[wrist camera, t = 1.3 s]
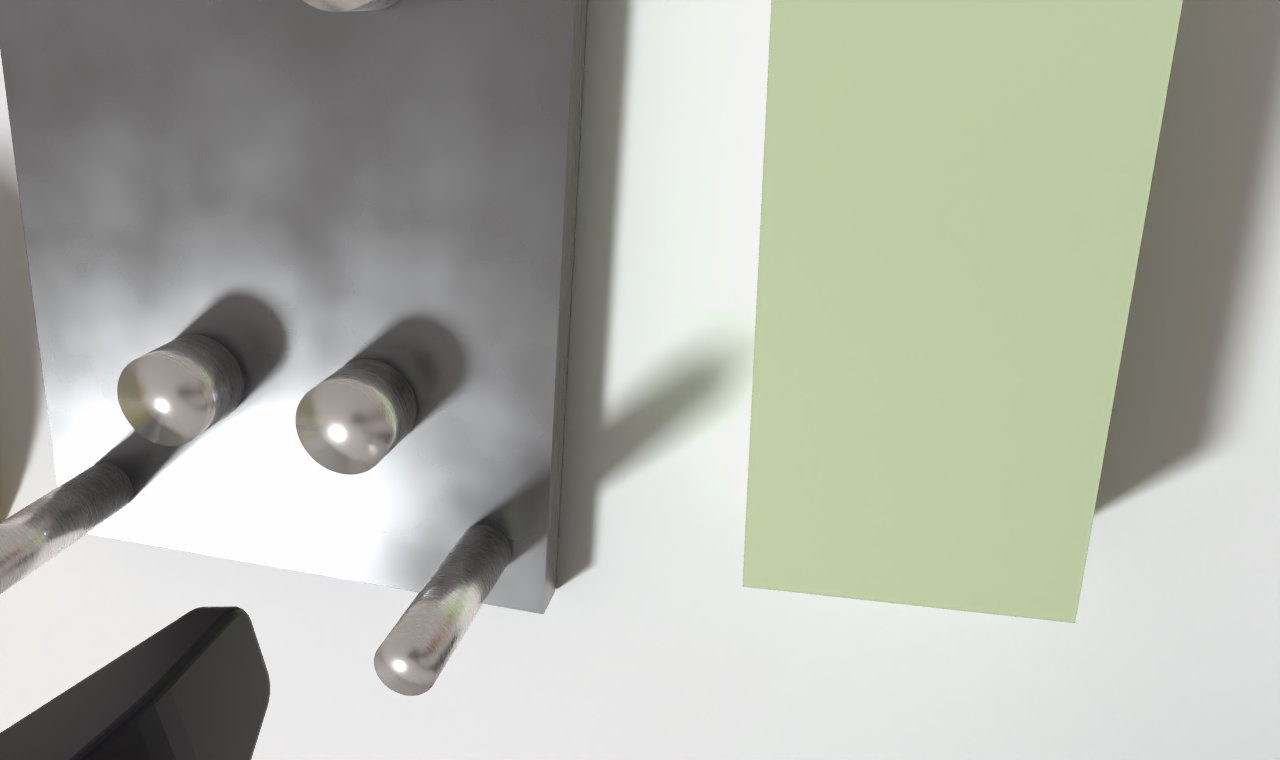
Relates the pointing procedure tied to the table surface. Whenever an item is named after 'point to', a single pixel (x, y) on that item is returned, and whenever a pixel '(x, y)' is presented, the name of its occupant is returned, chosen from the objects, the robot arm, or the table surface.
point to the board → (946, 292)
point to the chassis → (305, 288)
